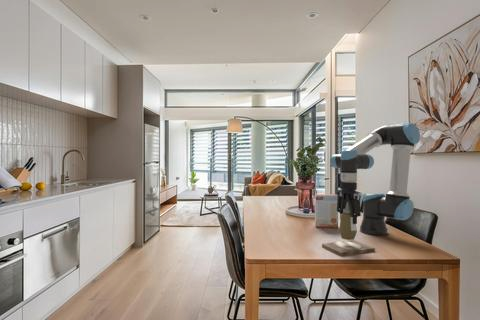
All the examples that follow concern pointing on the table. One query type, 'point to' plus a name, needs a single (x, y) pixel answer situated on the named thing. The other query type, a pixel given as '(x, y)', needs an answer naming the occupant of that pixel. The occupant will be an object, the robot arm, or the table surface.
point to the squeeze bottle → (346, 224)
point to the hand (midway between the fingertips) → (348, 228)
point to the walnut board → (348, 247)
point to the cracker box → (326, 210)
